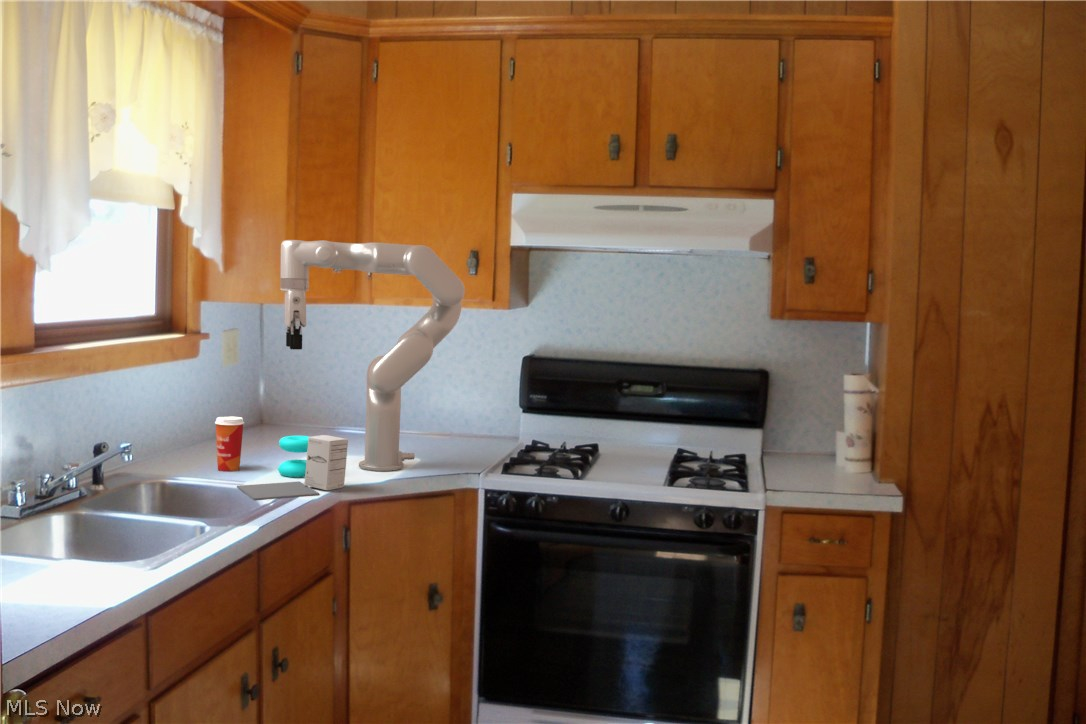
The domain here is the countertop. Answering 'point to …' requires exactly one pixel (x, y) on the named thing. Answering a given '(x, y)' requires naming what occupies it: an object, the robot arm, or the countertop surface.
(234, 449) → the paper cup
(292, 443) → the donuts
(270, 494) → the mat
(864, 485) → the countertop surface
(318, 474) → the supplement box
